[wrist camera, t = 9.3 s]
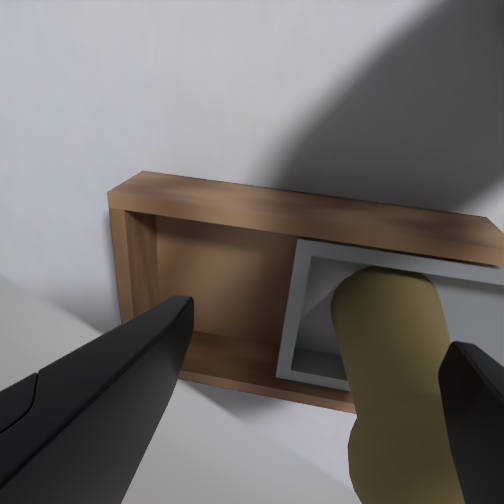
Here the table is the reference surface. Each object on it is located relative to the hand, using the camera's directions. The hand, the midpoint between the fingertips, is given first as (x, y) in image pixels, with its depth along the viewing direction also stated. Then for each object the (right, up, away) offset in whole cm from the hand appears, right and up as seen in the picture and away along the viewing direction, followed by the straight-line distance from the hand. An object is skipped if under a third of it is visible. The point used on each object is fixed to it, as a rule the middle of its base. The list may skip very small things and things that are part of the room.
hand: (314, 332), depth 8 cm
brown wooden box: (+2, 0, +15) cm, 15 cm away
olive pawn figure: (+6, -1, +13) cm, 14 cm away
